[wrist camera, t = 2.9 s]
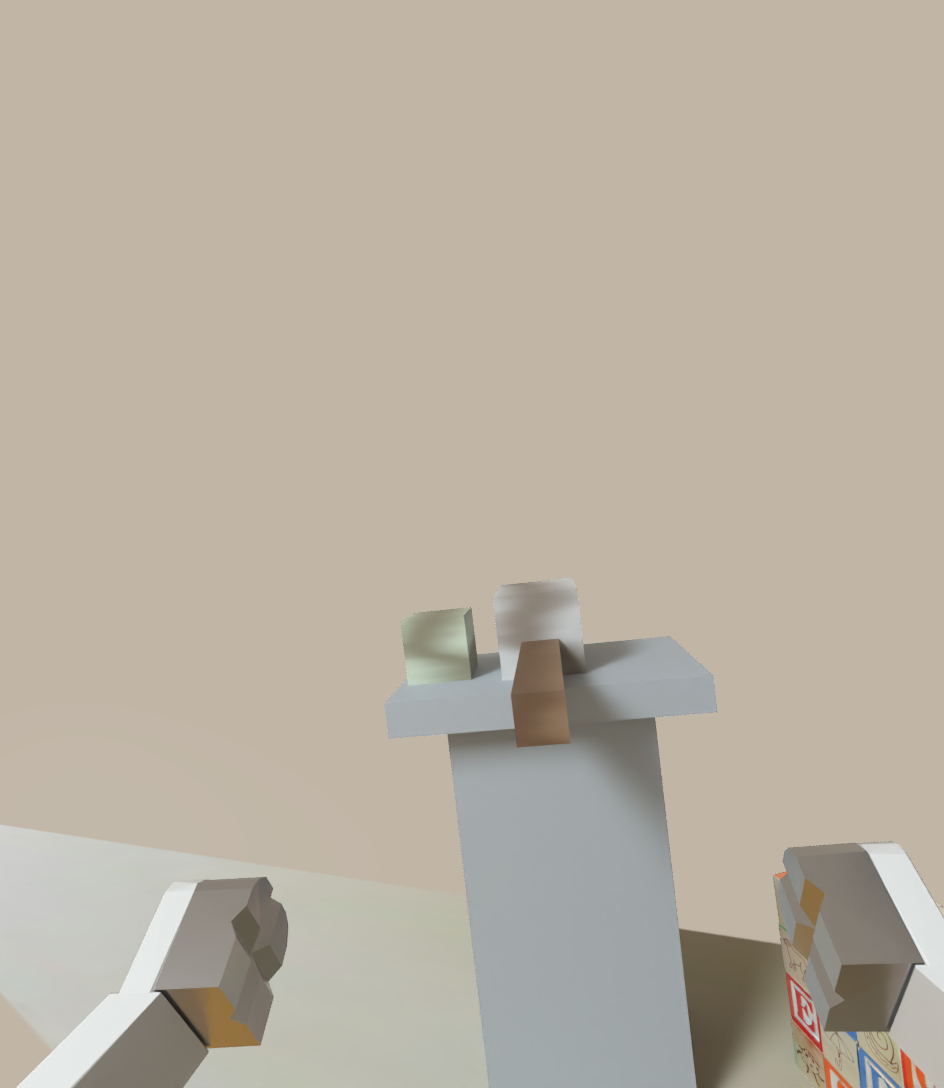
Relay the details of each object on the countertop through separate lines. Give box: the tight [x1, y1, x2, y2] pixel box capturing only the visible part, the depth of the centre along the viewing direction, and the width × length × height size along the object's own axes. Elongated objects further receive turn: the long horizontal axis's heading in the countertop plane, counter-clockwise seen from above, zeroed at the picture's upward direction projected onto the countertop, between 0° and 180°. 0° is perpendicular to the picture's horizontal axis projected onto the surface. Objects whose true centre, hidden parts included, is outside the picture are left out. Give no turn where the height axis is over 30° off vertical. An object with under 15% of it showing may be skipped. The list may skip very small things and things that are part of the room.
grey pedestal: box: [385, 636, 717, 1088], centre depth 42 cm, size 18×12×26 cm, turn 84°
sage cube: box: [401, 607, 478, 685], centre depth 42 cm, size 4×4×4 cm
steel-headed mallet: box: [493, 578, 587, 748], centre depth 36 cm, size 5×20×5 cm, turn 174°
